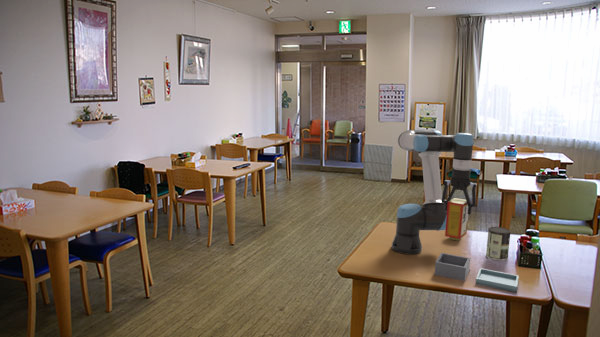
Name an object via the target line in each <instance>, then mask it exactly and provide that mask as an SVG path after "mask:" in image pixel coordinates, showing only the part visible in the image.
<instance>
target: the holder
mask: <svg viewBox="0 0 600 337" xmlns="http://www.w3.org/2000/svg"><path fill="white" fill-rule="evenodd" d="M470 264H471V257H467V256H461V255H456V254H452V253H451V254H449V253H445V252H441V253H440V254H439V256H438V258H437V259H436V260H435V264H434V272H433V273H434V276H439V277H443V278H447V279H453V280H458V281H463V282H465V281H466V279H467V277H468V274H469V272H470V268H471V265H470Z"/></svg>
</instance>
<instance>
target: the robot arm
mask: <svg viewBox="0 0 600 337" xmlns="http://www.w3.org/2000/svg"><path fill="white" fill-rule="evenodd" d="M397 144H398V146H399V147H400V148H401V149H402V150H403V151H404V150H405V151H407V152H418V153H417V154H418V157H420V158H421V162H422V164H421V165H422V175H423V177H422V178H423V188H424V191H423V192H424V202H423V203H422V206H421V205H420V204H418V203H406V204H402V205H401V204H400V206H399V207H398V208H397V212H396V225H395V226H396V227H395V228H396V229H395V236H394V238H393V240H392V241H391V242H392V243H391V249H392V250H393V251H394V252H397V253H399V254H404V255H417V254H420V253H422V250H423V246H422V242H421V238H420V231H436V232H439V231H445V230H446V218H447V205H448V201H450V200H452V199H453V198H452V197H453V196H454V194H455V192H456V191H458V190H459V191H462V192H463V194H464V196H465V200H466V201H467V204H468V206H467V207H466V215H465V222H467V221H468V220H469V215H470V214H471V213H472V208H474V207H476V205H477V193H476V192H477V190H476V188H477V186H478V183H476V182H475V183H473V182H471V169H472V158H473V147H474V135H473V134H472V133H468V132H457V133H456V134H448V135H447V134H445V135H443V133H442V132H441V131H440V130H437V129H436V130H435V129H409V130H406V131H402V132H401V133H400V134H399V136H398V139H397ZM442 153H453V156H452V158H453V159H452V171H451V179H450V180H448V179H445V180H444V181H443V184H444V187H443V192H442V181H441V170H440V158H439V157H440V156H441V155H442ZM450 184H451V185H452V189H451V190H450V192H449V195H448V194H447V193H448V190H449V189H448V188H449V186H450ZM469 186H470V188H471V198H472V199H471V198H470V194H469V192H468V191H469V190H468V187H469ZM447 195H448V197H447ZM471 200H472V201H471ZM467 223H468V222H467Z"/></svg>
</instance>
